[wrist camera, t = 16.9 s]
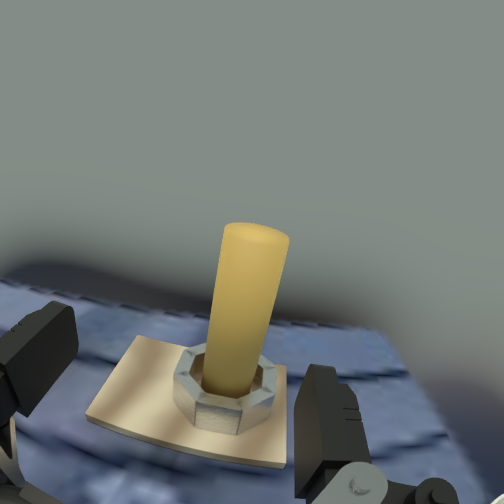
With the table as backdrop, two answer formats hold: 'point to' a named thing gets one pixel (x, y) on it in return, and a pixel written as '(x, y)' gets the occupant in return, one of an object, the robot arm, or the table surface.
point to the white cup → (499, 500)
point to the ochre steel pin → (242, 306)
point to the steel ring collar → (219, 407)
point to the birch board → (172, 419)
